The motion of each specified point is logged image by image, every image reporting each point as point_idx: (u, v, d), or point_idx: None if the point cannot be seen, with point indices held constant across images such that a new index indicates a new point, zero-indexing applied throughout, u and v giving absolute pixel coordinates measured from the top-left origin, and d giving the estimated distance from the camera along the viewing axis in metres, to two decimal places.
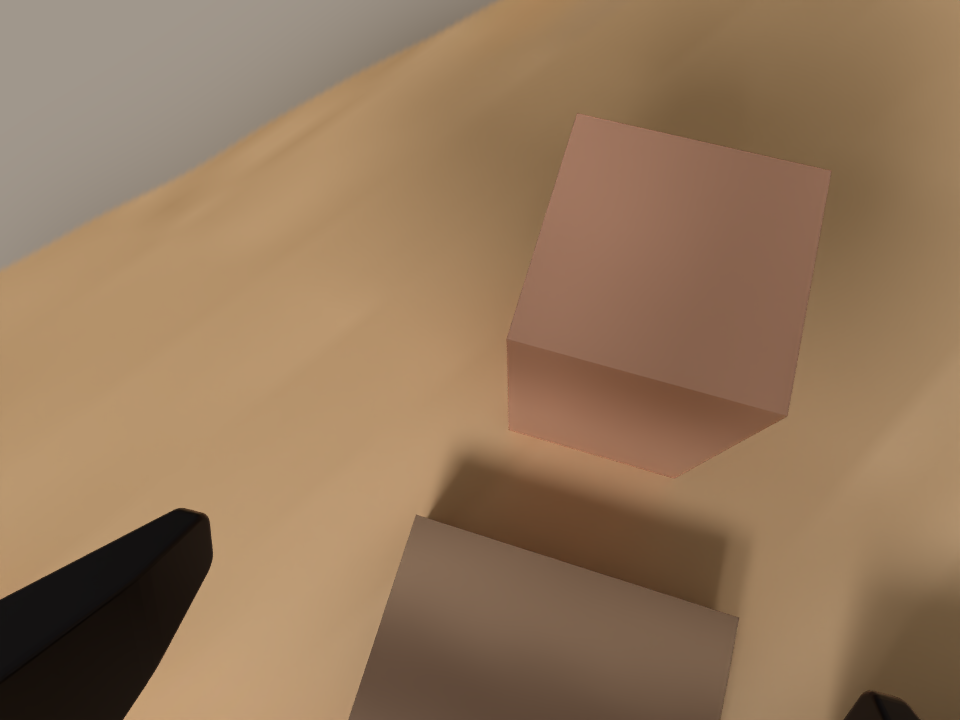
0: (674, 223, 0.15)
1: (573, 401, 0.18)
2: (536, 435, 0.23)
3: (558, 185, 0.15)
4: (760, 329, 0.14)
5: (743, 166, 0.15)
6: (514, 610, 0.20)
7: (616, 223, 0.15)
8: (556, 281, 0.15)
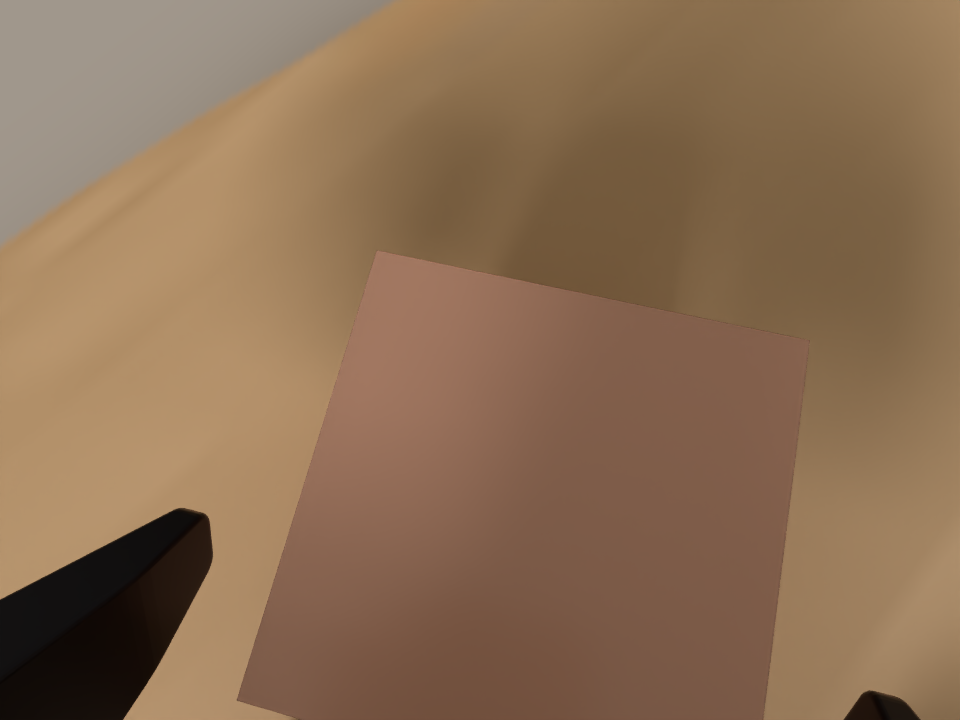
0: (539, 454, 0.09)
1: None
2: None
3: (340, 387, 0.09)
4: (692, 665, 0.08)
5: (659, 339, 0.09)
6: None
7: (437, 459, 0.09)
8: (330, 577, 0.08)
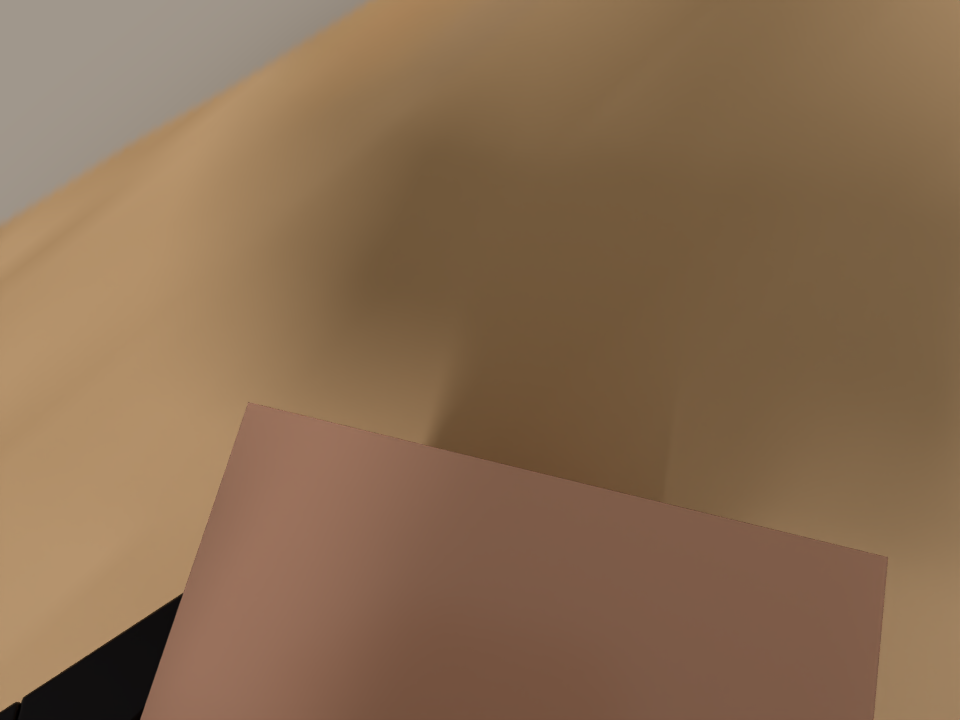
0: None
1: None
2: None
3: (183, 621, 0.06)
4: None
5: (659, 550, 0.06)
6: None
7: None
8: None
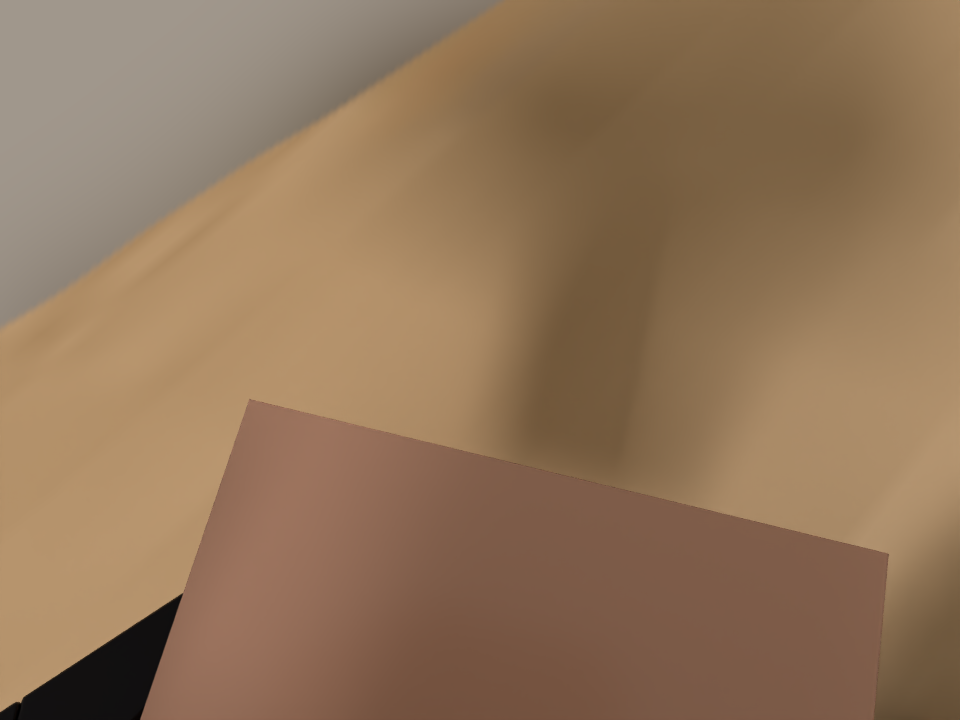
0: None
1: None
2: None
3: (184, 617, 0.06)
4: None
5: (659, 548, 0.06)
6: None
7: None
8: None
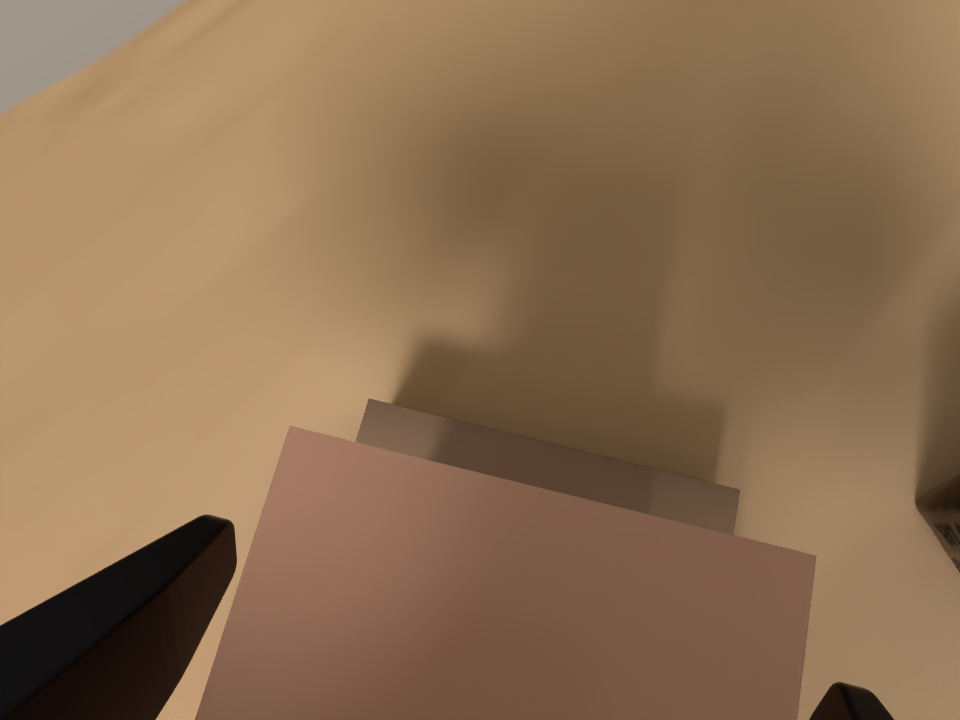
0: (480, 704, 0.07)
1: None
2: None
3: (239, 607, 0.07)
4: None
5: (629, 550, 0.07)
6: None
7: (354, 704, 0.07)
8: None
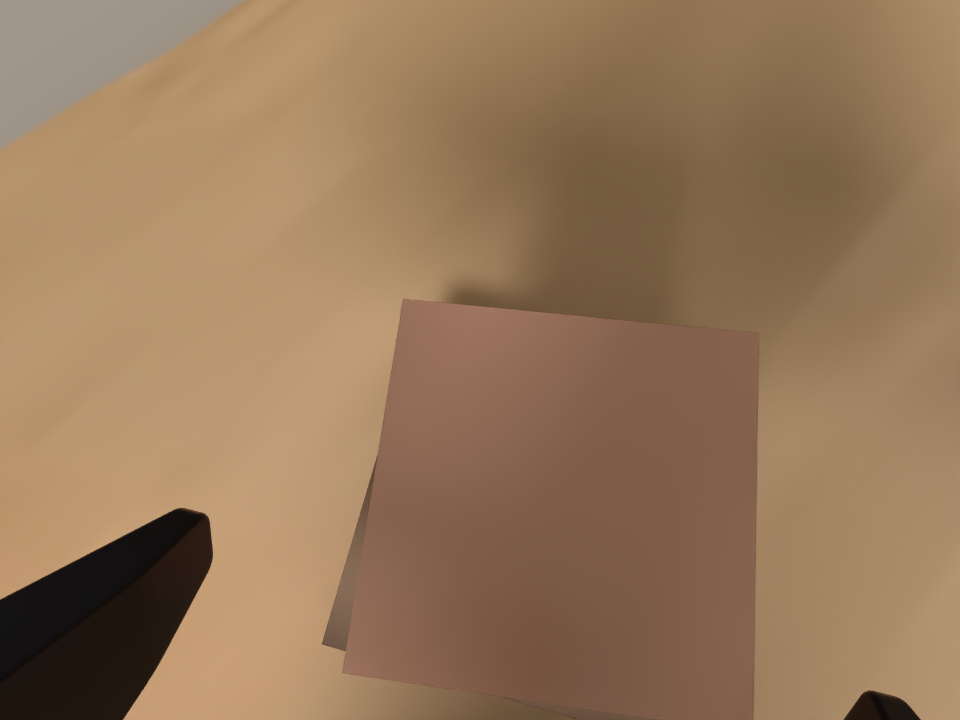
0: (557, 449, 0.11)
1: None
2: None
3: (389, 414, 0.11)
4: (695, 598, 0.10)
5: (640, 346, 0.11)
6: None
7: (476, 462, 0.11)
8: (403, 567, 0.10)
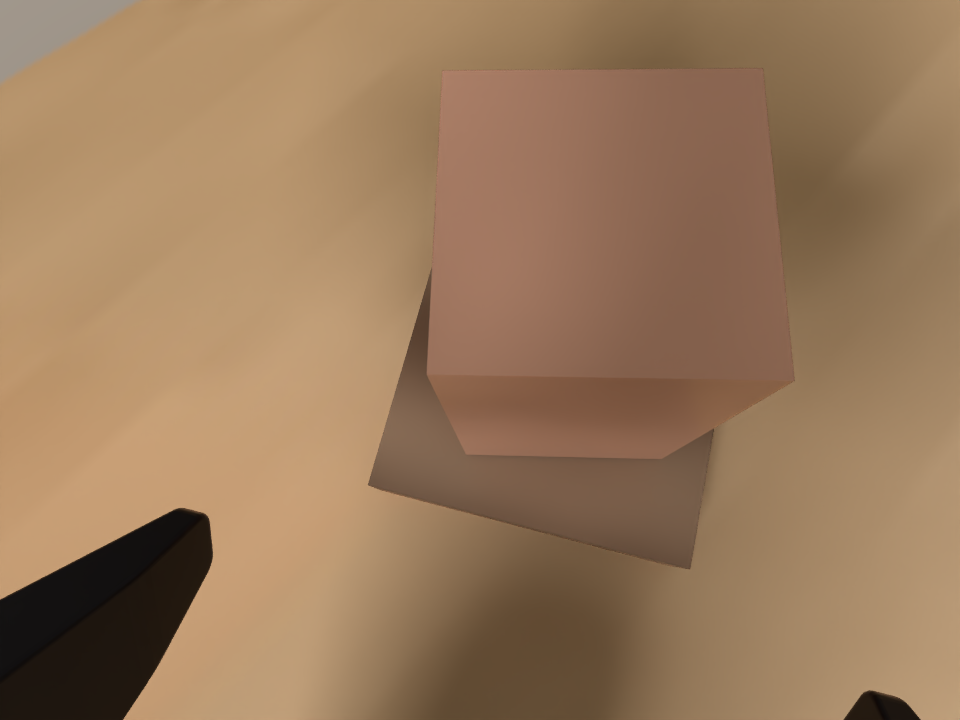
0: (596, 177, 0.12)
1: (529, 417, 0.14)
2: (498, 453, 0.20)
3: (442, 164, 0.12)
4: (732, 282, 0.11)
5: (659, 88, 0.12)
6: None
7: (525, 195, 0.12)
8: (470, 284, 0.12)
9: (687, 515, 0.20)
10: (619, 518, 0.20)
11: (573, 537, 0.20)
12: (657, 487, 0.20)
